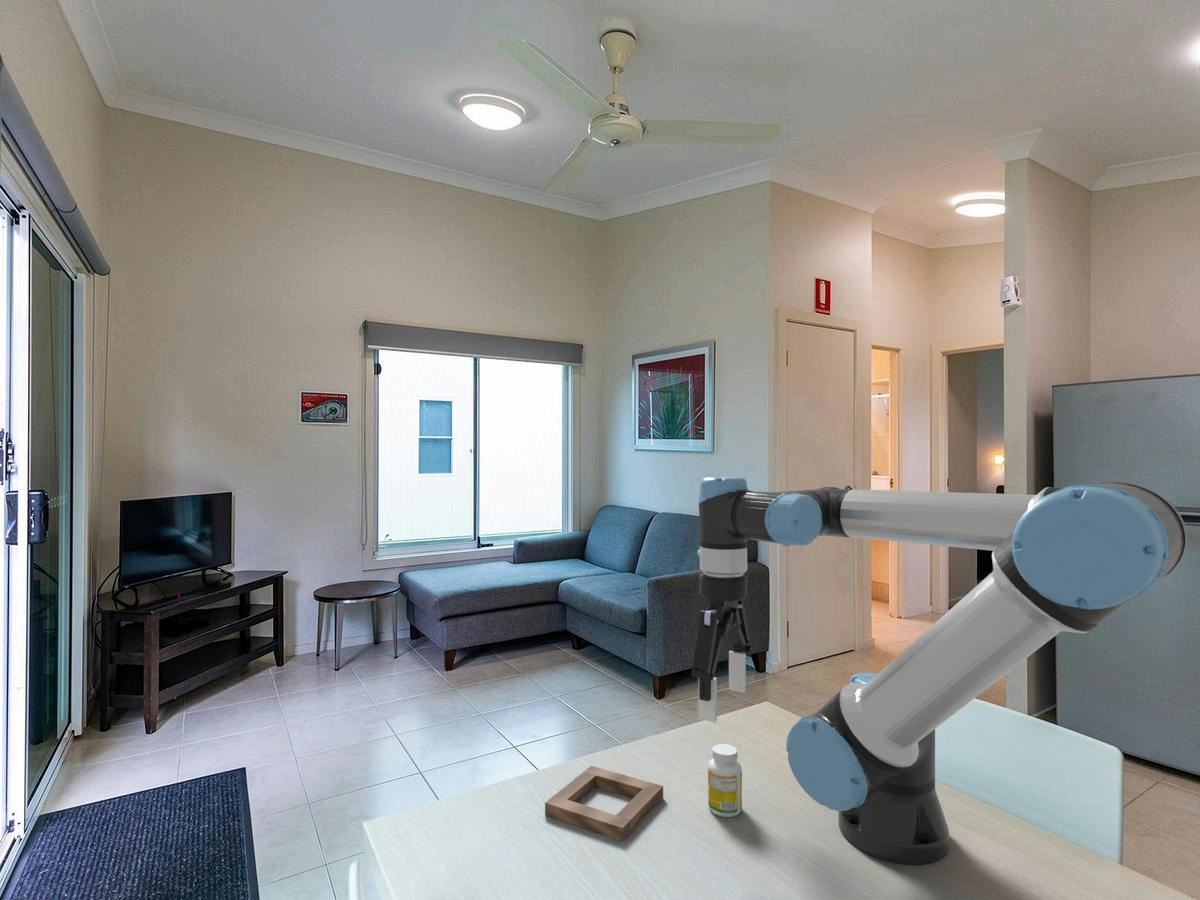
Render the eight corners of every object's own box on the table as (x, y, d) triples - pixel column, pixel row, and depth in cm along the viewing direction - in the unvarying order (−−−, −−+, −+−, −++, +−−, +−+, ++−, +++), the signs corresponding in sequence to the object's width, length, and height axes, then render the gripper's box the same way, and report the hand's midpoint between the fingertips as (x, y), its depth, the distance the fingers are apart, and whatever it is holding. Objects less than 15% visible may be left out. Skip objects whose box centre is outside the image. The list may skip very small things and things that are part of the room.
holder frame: (663, 797, 110) (663, 785, 110) (622, 841, 98) (622, 828, 98) (591, 776, 117) (591, 765, 117) (545, 815, 105) (545, 802, 105)
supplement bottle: (728, 822, 102) (728, 760, 102) (701, 808, 106) (700, 749, 106) (748, 809, 106) (748, 749, 106) (721, 796, 110) (721, 738, 110)
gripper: (727, 558, 119) (727, 676, 119) (668, 584, 97) (669, 728, 98) (768, 562, 115) (768, 684, 115) (717, 590, 93) (717, 739, 94)
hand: (723, 704), depth 106 cm, fingers open, 13 cm apart
